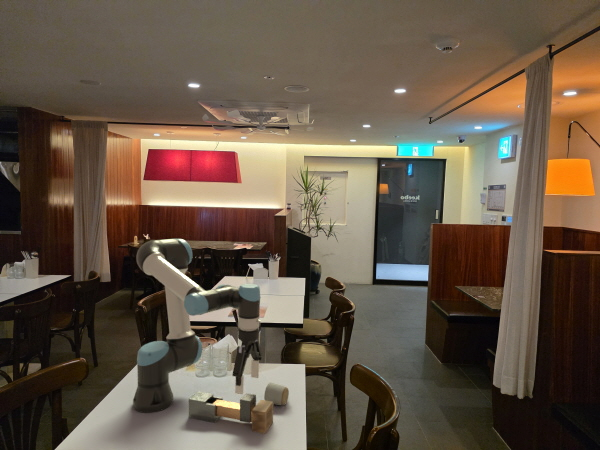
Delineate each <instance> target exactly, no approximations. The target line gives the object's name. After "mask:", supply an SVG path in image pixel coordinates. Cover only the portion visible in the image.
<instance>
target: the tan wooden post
mask: <svg viewBox="0 0 600 450" xmlns="http://www.w3.org/2000/svg"><path fill="white" fill-rule="evenodd" d="M213 404H215V405H216V416H220V418H227V419H232V420H237V421H239V422H243V423H247V424H250V423H252V410H253V409H254V407H255V406H256V405H257V394H253V393H247V392H246V393H244V394H243V396H242V397H241V398H240V399H239V402H234V401H227V400H224V399H223V400H216V401H215V402H214V403H213Z"/></svg>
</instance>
